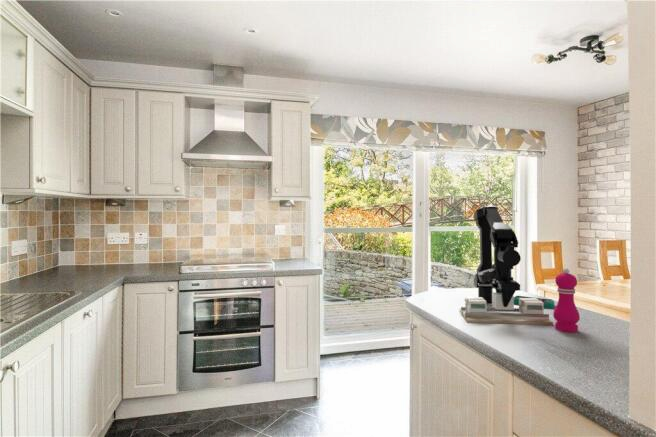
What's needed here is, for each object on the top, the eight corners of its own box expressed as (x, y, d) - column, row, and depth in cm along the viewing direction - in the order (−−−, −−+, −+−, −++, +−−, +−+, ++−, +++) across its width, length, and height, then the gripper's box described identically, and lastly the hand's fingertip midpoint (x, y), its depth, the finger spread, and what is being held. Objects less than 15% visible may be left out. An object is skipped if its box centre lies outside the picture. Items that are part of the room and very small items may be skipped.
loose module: (492, 305, 138) (492, 292, 138) (509, 306, 137) (509, 292, 137) (496, 309, 134) (495, 295, 133) (513, 309, 133) (513, 295, 132)
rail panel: (459, 311, 145) (459, 294, 145) (536, 313, 140) (536, 296, 140) (467, 322, 131) (466, 303, 131) (553, 324, 126) (552, 305, 126)
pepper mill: (571, 334, 116) (571, 270, 116) (548, 328, 123) (548, 268, 122) (584, 330, 120) (584, 269, 119) (561, 324, 126) (561, 266, 126)
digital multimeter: (553, 310, 146) (553, 302, 146) (511, 304, 155) (511, 297, 155) (555, 306, 152) (555, 299, 152) (515, 301, 161) (515, 294, 161)
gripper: (473, 258, 146) (473, 298, 146) (485, 266, 127) (486, 311, 128) (503, 259, 144) (504, 299, 144) (520, 266, 125) (520, 312, 126)
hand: (502, 304), depth 135 cm, fingers closed on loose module, 5 cm apart
